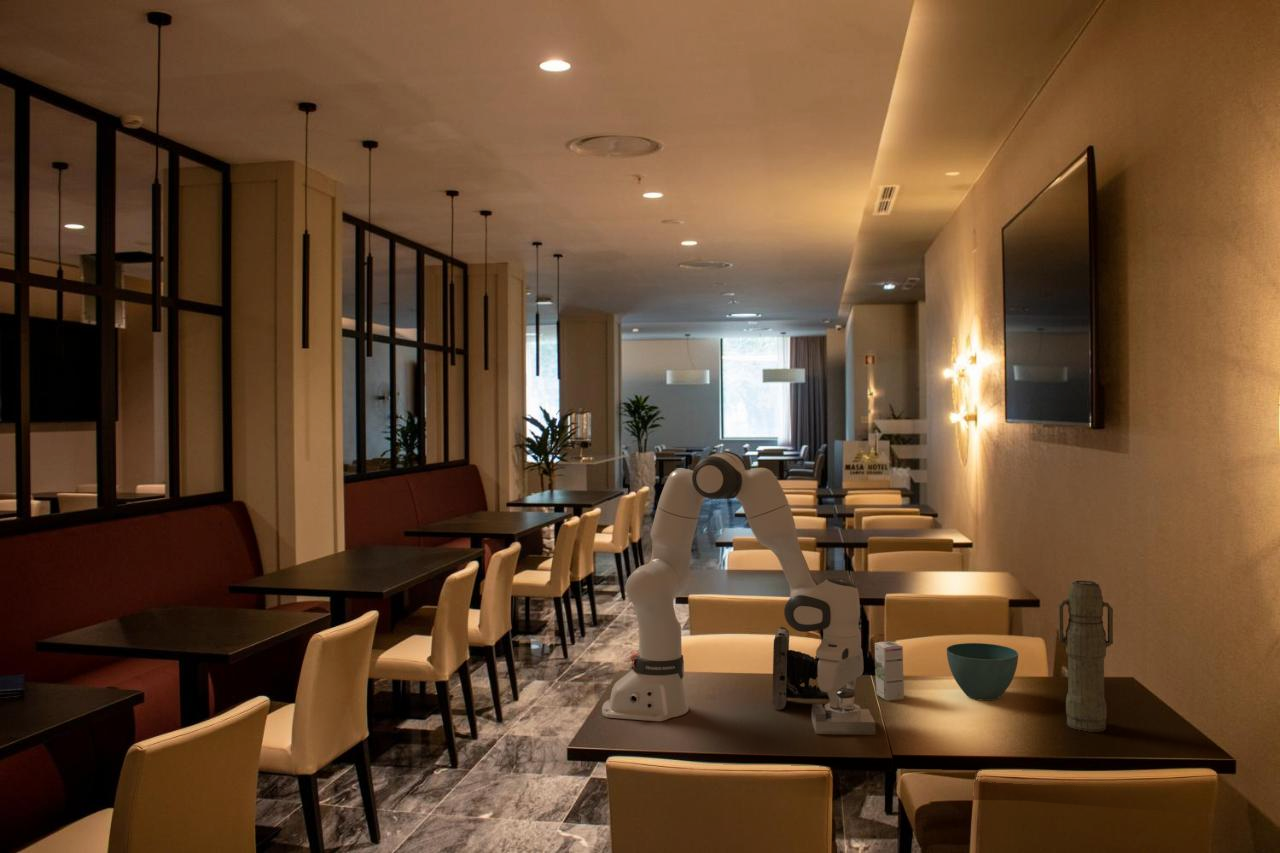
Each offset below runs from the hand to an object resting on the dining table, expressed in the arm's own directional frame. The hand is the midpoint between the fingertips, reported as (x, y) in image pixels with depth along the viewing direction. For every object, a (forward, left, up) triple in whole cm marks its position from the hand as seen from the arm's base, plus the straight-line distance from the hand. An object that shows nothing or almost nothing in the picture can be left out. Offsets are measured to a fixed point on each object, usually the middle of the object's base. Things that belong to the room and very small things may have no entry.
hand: (842, 701), depth 231 cm
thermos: (+59, +3, -6) cm, 59 cm away
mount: (0, 0, -6) cm, 6 cm away
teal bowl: (+41, +27, -6) cm, 50 cm away
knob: (+1, 0, -3) cm, 3 cm away
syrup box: (+16, +25, -6) cm, 30 cm away
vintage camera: (-8, +17, -6) cm, 20 cm away
